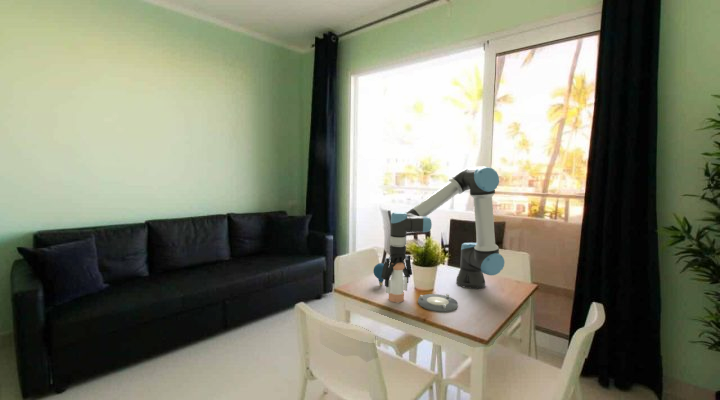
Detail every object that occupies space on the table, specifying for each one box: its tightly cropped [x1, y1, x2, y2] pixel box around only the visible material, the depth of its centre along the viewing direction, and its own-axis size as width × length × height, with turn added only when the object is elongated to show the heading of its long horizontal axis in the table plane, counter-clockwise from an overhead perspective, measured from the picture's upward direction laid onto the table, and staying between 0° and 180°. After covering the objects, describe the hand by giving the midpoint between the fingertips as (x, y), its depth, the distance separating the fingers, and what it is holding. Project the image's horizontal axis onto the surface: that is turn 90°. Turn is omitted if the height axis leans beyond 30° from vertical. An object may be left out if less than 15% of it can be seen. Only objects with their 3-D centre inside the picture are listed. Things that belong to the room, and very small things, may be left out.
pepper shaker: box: [388, 262, 406, 303], centre depth 157 cm, size 7×7×19 cm
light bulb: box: [373, 262, 385, 286], centre depth 176 cm, size 8×8×12 cm
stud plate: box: [417, 293, 459, 313], centre depth 154 cm, size 18×18×3 cm
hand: (396, 291), depth 157 cm, fingers open, 9 cm apart
